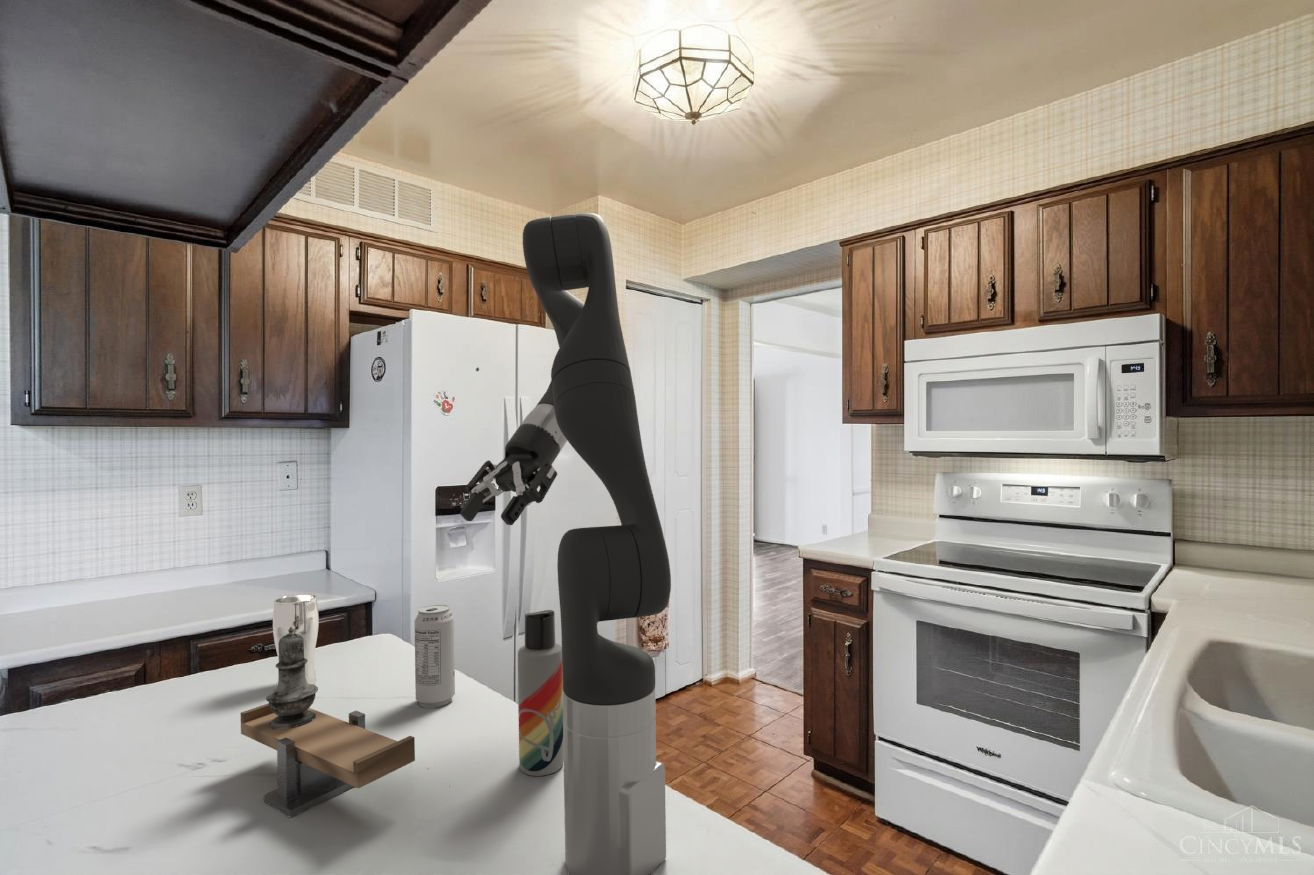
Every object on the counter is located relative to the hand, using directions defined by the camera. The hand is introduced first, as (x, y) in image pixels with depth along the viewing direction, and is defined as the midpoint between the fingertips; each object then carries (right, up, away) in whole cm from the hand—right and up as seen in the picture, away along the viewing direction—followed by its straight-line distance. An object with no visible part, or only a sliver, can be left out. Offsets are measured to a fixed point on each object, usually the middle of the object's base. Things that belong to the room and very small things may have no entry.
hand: (485, 519), depth 93 cm
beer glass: (-38, -31, +20) cm, 53 cm away
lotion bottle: (+10, -31, -9) cm, 34 cm away
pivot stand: (-16, -31, -14) cm, 37 cm away
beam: (-16, -26, -14) cm, 33 cm away
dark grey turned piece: (-22, -25, -10) cm, 35 cm away
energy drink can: (-11, -31, +12) cm, 35 cm away
